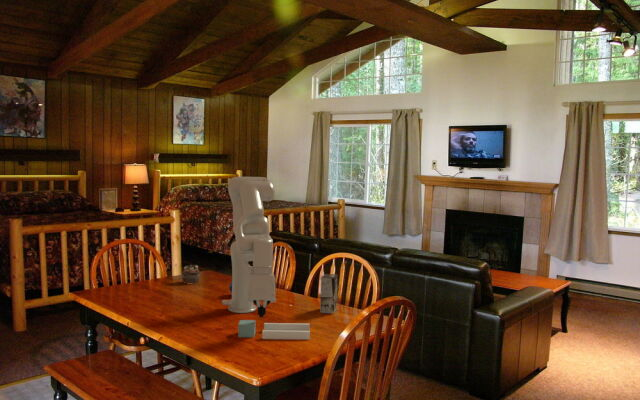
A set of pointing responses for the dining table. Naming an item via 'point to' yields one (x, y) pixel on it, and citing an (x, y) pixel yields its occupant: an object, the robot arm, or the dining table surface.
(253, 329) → the block
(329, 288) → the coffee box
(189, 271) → the cupcake
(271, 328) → the trough
